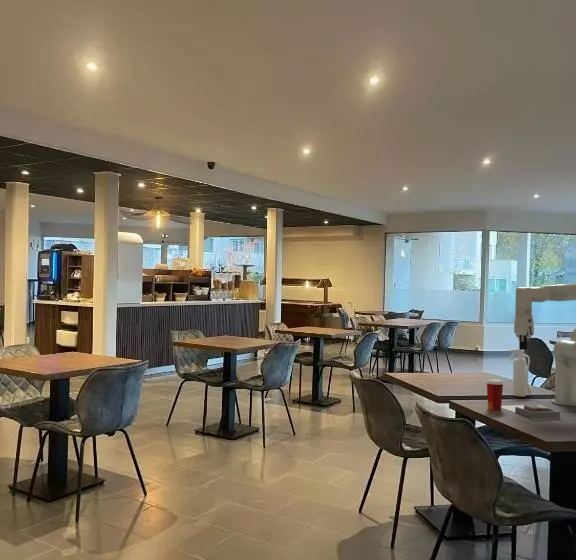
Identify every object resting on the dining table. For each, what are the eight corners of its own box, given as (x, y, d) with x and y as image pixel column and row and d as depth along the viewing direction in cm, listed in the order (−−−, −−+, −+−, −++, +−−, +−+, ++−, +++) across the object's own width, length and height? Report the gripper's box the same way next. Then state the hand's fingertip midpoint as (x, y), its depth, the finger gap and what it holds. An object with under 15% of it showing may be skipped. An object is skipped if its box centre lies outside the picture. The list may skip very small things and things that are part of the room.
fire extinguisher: (535, 396, 309) (533, 349, 310) (510, 396, 311) (509, 349, 312) (532, 394, 315) (530, 348, 317) (508, 394, 318) (507, 348, 319)
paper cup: (505, 410, 273) (505, 380, 273) (500, 413, 266) (501, 382, 267) (488, 408, 277) (488, 378, 277) (483, 410, 271) (483, 380, 271)
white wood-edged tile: (539, 413, 265) (539, 404, 265) (549, 416, 258) (549, 407, 258) (523, 413, 264) (523, 405, 264) (533, 416, 257) (533, 408, 257)
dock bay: (523, 406, 283) (523, 400, 283) (559, 418, 257) (559, 411, 257) (496, 406, 280) (497, 400, 280) (531, 419, 254) (531, 412, 254)
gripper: (539, 313, 281) (539, 351, 281) (521, 311, 296) (520, 348, 296) (525, 312, 280) (525, 351, 279) (508, 311, 294) (507, 348, 294)
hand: (523, 349), depth 287 cm, fingers closed
